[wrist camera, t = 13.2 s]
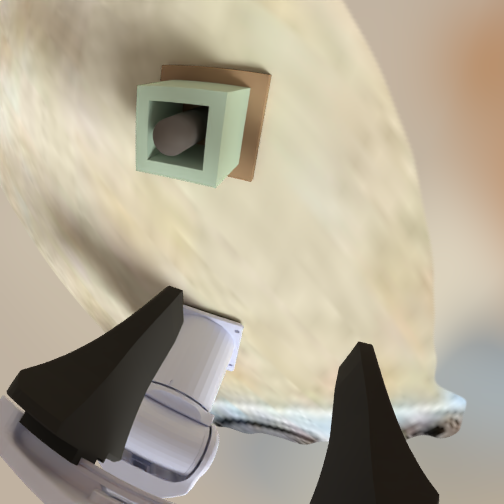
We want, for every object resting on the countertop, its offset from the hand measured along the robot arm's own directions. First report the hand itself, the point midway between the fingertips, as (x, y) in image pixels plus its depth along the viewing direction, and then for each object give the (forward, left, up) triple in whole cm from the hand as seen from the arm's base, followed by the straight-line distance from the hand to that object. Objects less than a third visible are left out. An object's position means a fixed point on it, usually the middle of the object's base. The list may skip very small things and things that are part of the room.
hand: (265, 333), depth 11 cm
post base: (+5, +7, -10) cm, 13 cm away
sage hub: (+5, +7, -10) cm, 13 cm away
